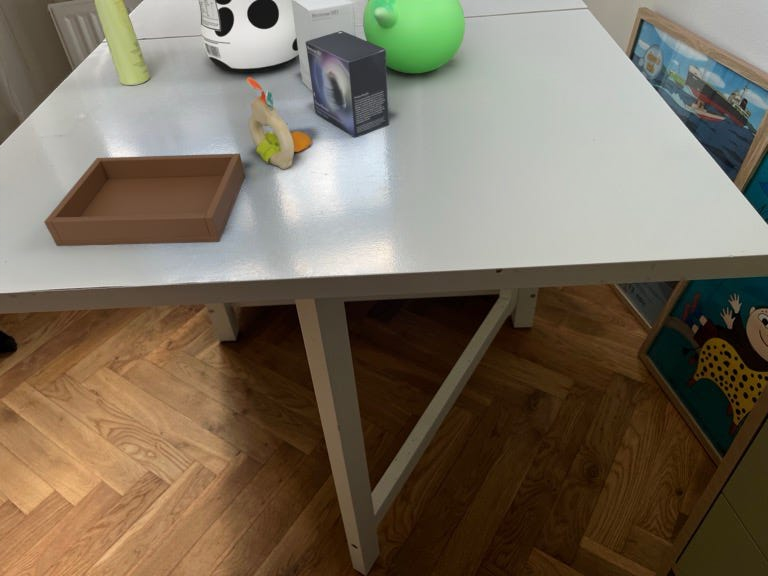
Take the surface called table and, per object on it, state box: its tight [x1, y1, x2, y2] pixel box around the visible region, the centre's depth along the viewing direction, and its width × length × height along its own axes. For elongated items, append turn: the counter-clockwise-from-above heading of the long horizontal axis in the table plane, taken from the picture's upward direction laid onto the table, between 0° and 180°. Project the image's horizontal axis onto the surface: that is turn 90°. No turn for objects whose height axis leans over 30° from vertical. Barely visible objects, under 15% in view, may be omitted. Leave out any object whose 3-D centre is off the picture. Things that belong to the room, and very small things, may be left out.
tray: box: [43, 153, 246, 247], centre depth 63 cm, size 18×14×3 cm
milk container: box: [198, 0, 299, 73], centre depth 93 cm, size 17×17×18 cm
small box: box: [305, 31, 390, 138], centre depth 76 cm, size 11×6×10 cm, turn 37°
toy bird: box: [362, 0, 466, 74], centre depth 88 cm, size 18×17×15 cm
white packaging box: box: [292, 0, 357, 93], centre depth 85 cm, size 7×7×13 cm
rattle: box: [246, 76, 312, 170], centre depth 68 cm, size 8×8×12 cm
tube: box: [93, 0, 151, 86], centre depth 88 cm, size 6×5×20 cm
